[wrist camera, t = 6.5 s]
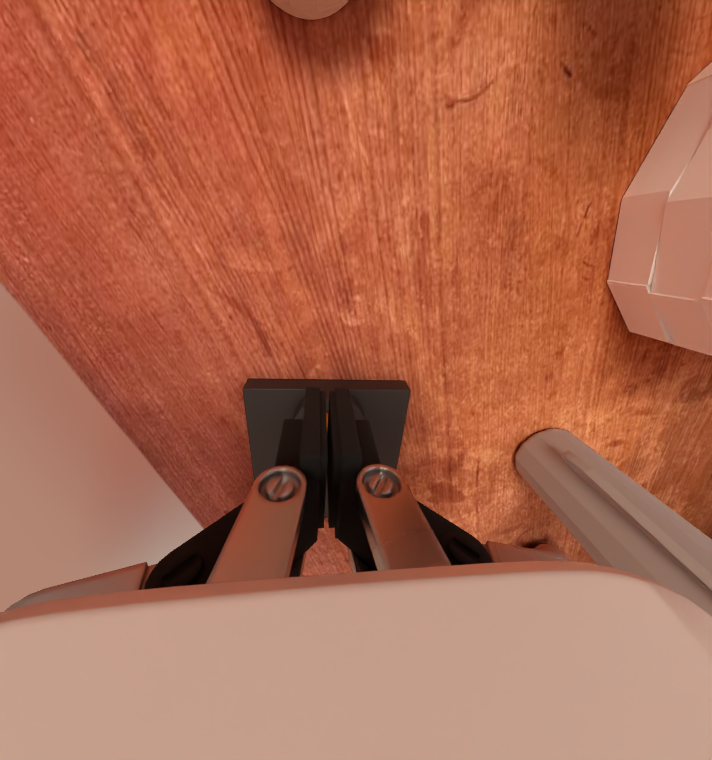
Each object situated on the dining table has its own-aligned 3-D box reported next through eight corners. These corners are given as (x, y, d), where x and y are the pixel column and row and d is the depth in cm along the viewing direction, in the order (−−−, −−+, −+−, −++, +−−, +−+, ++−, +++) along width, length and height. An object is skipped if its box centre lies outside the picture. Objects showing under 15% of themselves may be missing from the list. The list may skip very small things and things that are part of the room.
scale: (262, 506, 31) (256, 536, 28) (247, 377, 24) (236, 398, 20) (384, 500, 32) (391, 527, 29) (405, 379, 25) (416, 399, 22)
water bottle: (579, 452, 33) (1131, 901, 10) (518, 483, 34) (893, 942, 12) (562, 399, 29) (1398, 941, 6) (494, 436, 30) (992, 996, 8)
